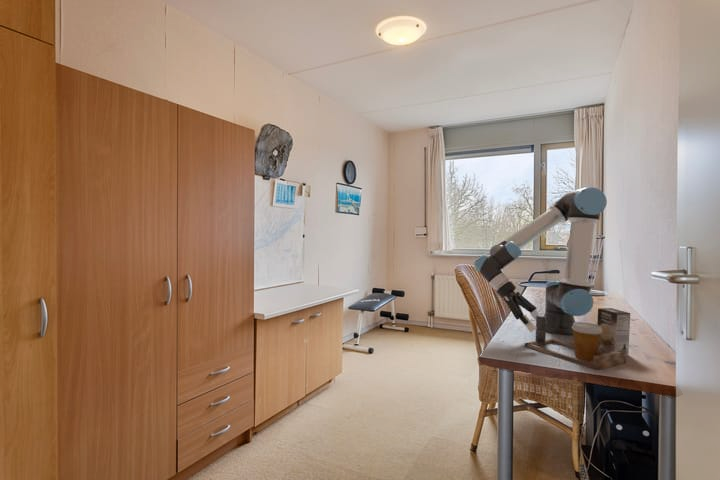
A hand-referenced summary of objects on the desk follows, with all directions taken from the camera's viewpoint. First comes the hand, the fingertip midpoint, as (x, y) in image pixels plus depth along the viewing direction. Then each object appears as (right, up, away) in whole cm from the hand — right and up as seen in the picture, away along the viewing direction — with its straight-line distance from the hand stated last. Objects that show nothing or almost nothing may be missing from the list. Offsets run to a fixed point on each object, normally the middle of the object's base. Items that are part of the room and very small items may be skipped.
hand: (539, 327), depth 150 cm
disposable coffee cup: (+9, -8, -16) cm, 20 cm away
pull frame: (+7, -7, -11) cm, 15 cm away
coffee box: (+24, -8, -8) cm, 27 cm away
